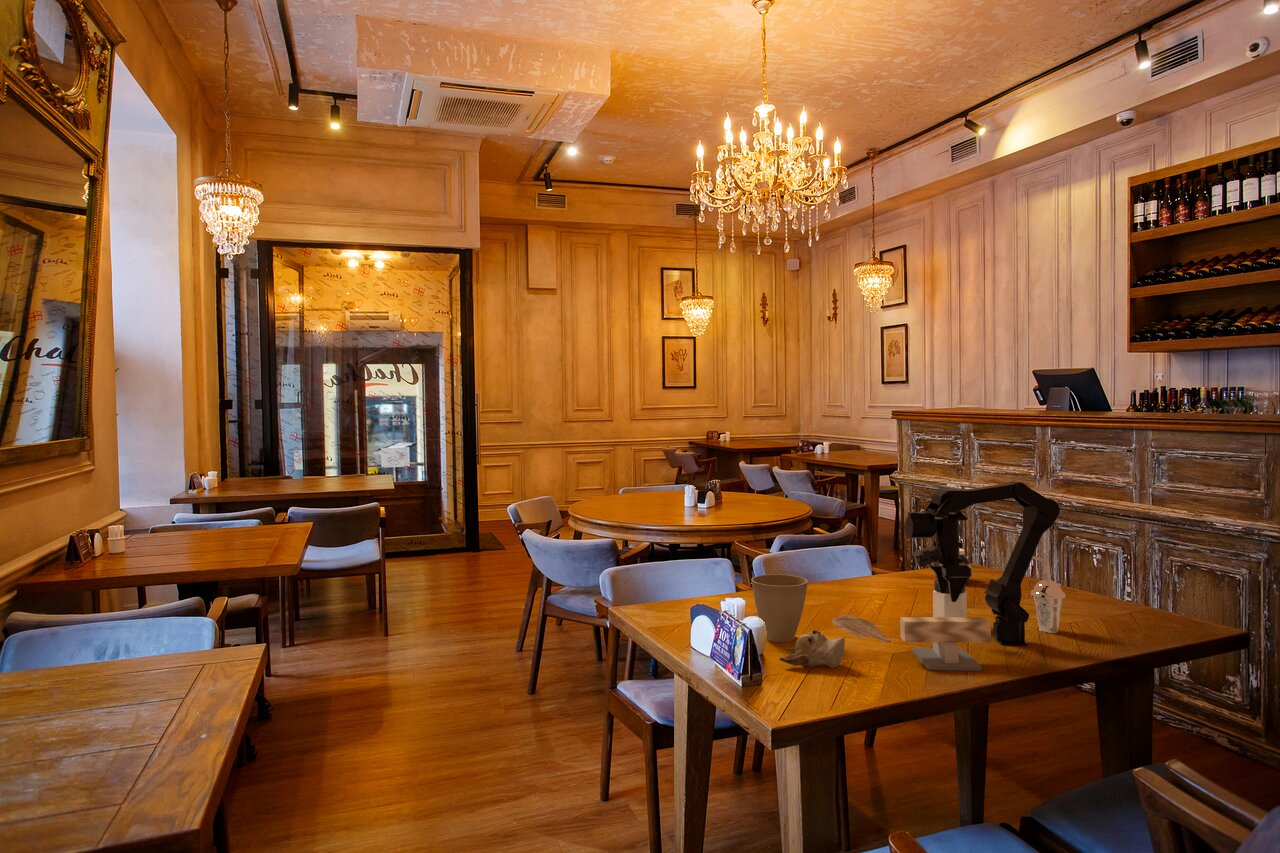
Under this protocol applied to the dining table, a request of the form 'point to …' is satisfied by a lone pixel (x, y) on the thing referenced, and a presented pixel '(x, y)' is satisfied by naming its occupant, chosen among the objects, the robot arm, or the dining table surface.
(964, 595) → the jar
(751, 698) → the dining table surface
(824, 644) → the ceramic sculpture
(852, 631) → the fish fossil
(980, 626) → the beech bar
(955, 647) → the fulcrum
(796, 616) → the plant pot
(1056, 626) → the cup with straw
